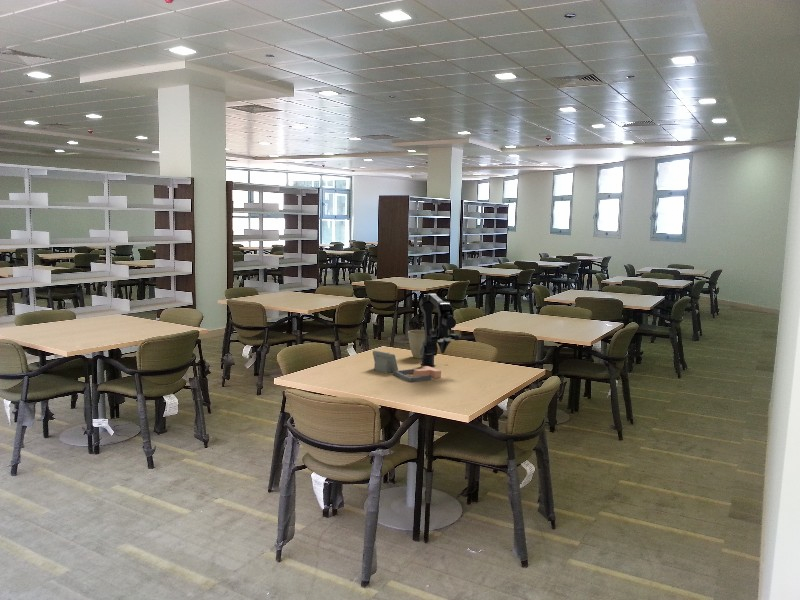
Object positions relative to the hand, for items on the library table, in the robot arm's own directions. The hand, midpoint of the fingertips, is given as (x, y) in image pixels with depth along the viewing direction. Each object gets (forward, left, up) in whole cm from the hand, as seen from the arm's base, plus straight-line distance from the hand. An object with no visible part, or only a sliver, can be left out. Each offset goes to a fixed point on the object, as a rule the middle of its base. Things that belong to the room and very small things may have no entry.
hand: (442, 353), depth 351 cm
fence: (+19, 0, -11) cm, 22 cm away
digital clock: (+25, -20, -12) cm, 34 cm away
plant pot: (-12, -42, -12) cm, 45 cm away
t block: (+11, 0, -11) cm, 16 cm away
